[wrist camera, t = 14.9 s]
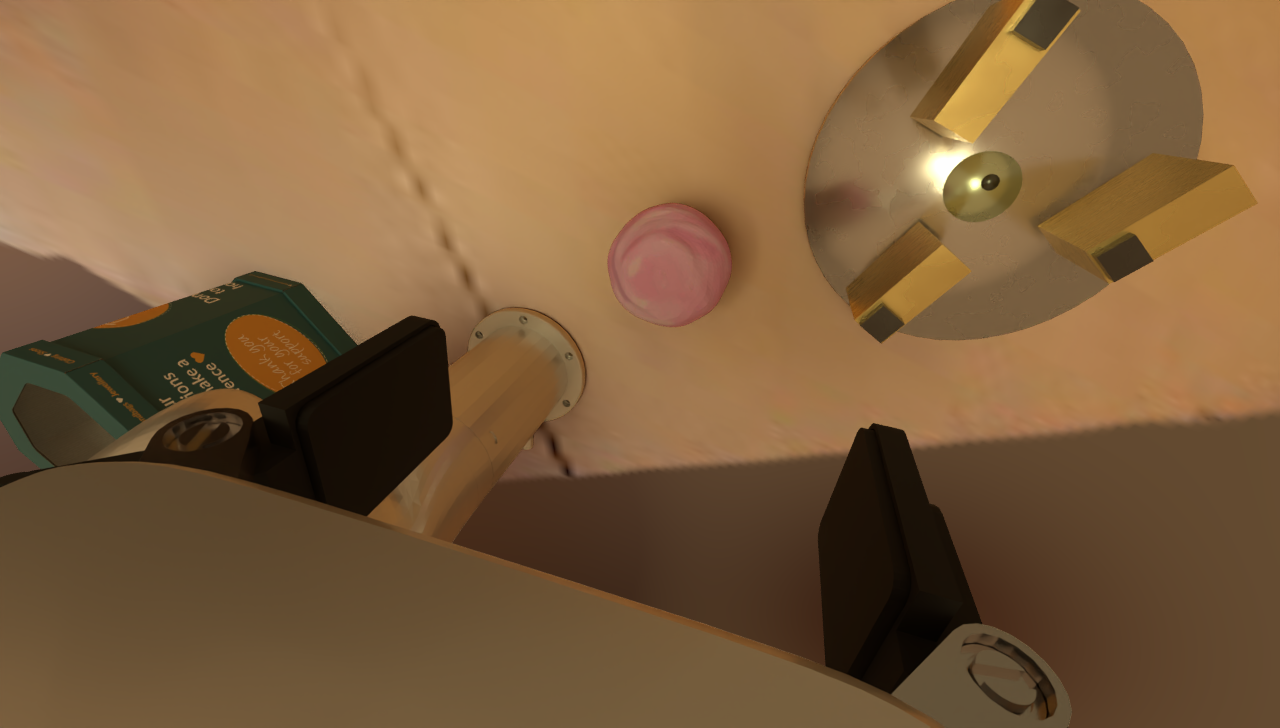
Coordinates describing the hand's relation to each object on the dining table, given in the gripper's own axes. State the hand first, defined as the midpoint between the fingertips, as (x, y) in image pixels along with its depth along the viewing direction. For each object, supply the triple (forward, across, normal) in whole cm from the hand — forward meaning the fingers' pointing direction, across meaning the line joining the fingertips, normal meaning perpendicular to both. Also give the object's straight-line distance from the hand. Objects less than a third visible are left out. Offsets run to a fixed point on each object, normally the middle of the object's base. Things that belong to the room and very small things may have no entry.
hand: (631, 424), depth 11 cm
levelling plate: (+32, -15, -3) cm, 36 cm away
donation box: (+33, +48, +25) cm, 63 cm away
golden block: (+30, -12, +3) cm, 32 cm away
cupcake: (+32, +4, +5) cm, 33 cm away
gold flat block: (+30, -22, -3) cm, 37 cm away
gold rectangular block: (+30, -12, -9) cm, 33 cm away
